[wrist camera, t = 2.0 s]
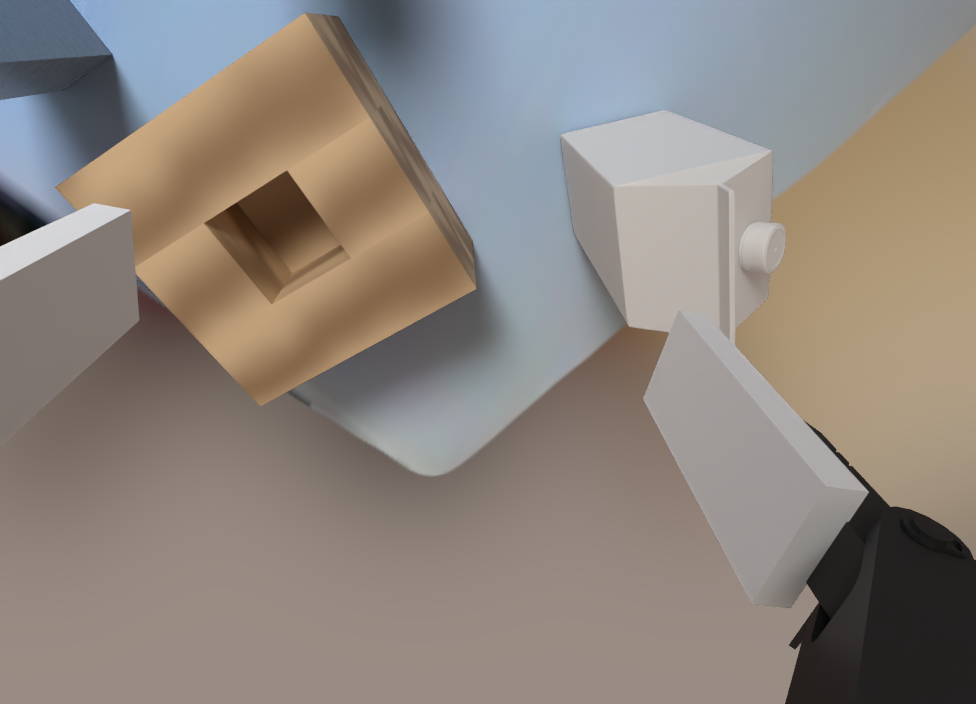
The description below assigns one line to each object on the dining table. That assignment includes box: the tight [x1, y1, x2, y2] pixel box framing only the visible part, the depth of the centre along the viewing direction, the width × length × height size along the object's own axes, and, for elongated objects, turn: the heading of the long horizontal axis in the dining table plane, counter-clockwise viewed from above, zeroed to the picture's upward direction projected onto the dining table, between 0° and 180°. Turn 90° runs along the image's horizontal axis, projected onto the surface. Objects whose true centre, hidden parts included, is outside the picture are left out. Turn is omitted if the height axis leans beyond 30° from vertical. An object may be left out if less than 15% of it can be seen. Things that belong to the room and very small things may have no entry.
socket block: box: [55, 13, 477, 406], centre depth 36 cm, size 16×16×9 cm
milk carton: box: [560, 110, 786, 346], centre depth 32 cm, size 7×7×19 cm
